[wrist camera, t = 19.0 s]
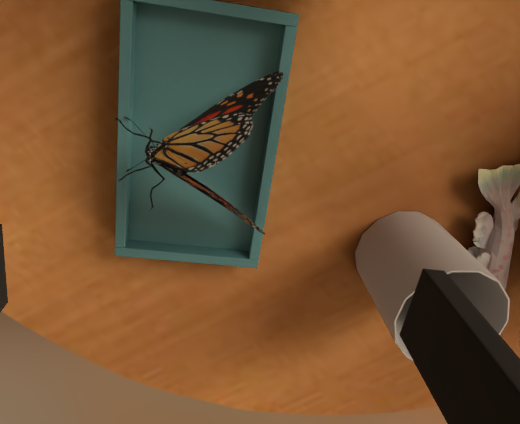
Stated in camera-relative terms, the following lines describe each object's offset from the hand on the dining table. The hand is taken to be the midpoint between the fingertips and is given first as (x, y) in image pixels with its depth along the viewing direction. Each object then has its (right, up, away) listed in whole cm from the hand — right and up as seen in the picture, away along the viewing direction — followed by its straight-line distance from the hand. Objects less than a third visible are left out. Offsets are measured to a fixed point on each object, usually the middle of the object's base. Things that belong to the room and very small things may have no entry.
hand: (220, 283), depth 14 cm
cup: (+14, -1, +27) cm, 30 cm away
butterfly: (-7, +5, +13) cm, 16 cm away
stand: (-3, +8, +21) cm, 23 cm away
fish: (+19, -1, +25) cm, 31 cm away
